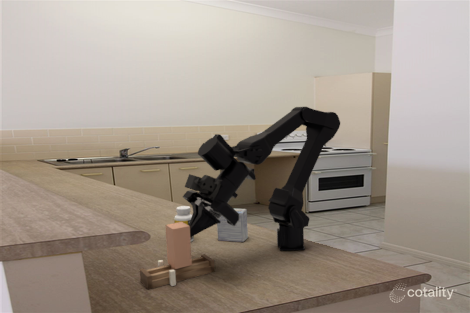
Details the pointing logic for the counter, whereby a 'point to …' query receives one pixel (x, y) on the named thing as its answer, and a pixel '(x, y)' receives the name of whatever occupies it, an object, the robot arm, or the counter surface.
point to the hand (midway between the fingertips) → (187, 236)
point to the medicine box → (233, 228)
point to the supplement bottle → (183, 216)
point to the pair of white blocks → (171, 273)
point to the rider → (178, 245)
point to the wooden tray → (176, 272)
